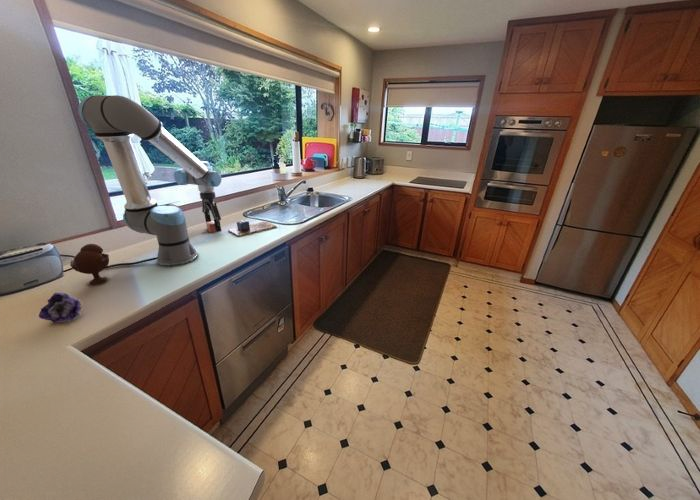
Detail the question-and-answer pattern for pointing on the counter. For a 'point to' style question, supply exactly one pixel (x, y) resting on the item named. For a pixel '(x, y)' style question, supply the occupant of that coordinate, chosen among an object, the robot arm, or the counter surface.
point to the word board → (253, 228)
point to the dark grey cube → (243, 225)
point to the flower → (61, 308)
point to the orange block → (211, 226)
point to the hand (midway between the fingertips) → (213, 228)
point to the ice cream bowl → (91, 262)
